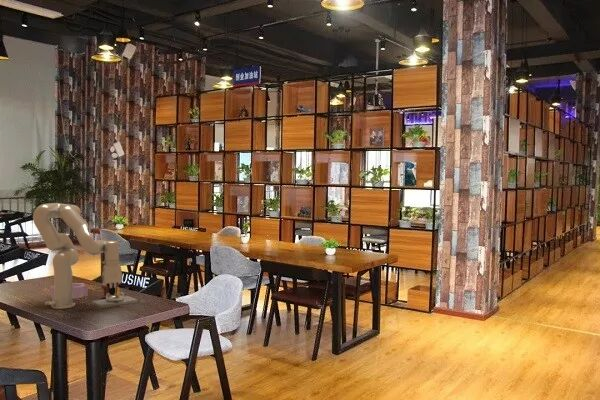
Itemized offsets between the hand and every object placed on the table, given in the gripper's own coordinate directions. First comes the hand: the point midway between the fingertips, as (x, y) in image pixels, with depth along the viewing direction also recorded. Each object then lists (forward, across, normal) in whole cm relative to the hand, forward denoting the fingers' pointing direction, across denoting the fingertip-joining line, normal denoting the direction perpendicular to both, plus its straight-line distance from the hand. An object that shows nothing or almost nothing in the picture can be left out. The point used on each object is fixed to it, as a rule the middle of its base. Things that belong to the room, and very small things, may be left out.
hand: (112, 294), depth 304 cm
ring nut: (+6, +6, +8) cm, 11 cm away
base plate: (+7, +6, +10) cm, 13 cm away
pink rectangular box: (+7, -10, +42) cm, 44 cm away
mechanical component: (+8, +8, +24) cm, 26 cm away
